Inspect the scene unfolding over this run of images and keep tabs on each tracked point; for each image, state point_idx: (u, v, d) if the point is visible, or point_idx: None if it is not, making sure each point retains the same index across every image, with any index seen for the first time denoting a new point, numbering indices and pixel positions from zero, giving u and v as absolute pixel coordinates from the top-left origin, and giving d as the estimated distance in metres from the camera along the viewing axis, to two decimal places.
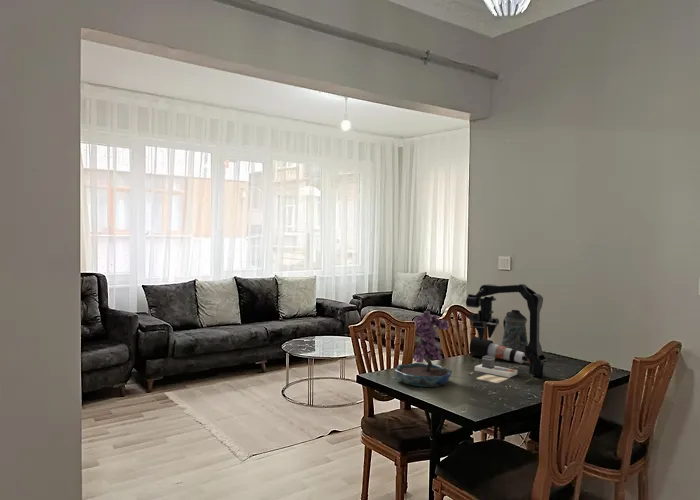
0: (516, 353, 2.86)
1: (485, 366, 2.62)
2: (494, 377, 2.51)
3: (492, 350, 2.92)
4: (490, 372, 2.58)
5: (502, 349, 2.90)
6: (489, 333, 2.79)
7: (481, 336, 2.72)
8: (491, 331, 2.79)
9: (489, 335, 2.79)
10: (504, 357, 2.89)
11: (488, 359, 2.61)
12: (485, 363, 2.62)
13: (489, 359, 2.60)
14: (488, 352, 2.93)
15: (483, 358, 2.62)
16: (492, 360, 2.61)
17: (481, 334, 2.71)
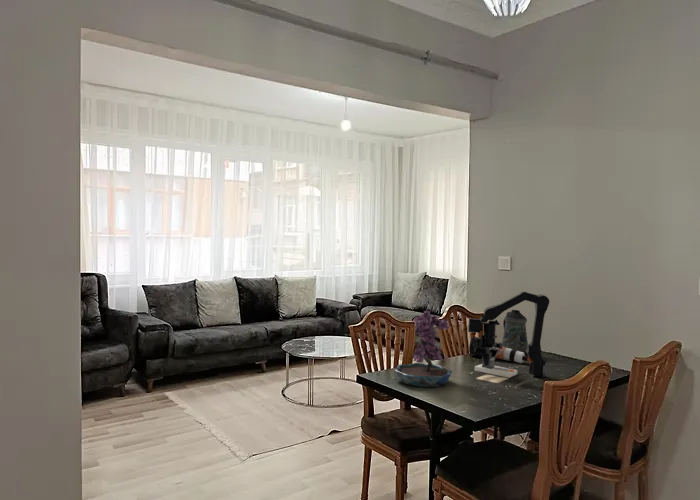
0: (516, 353, 2.86)
1: (485, 366, 2.62)
2: (494, 377, 2.51)
3: None
4: (490, 372, 2.58)
5: (502, 349, 2.89)
6: None
7: (486, 361, 2.60)
8: None
9: None
10: (504, 357, 2.88)
11: None
12: None
13: None
14: None
15: None
16: (492, 360, 2.61)
17: (486, 359, 2.60)
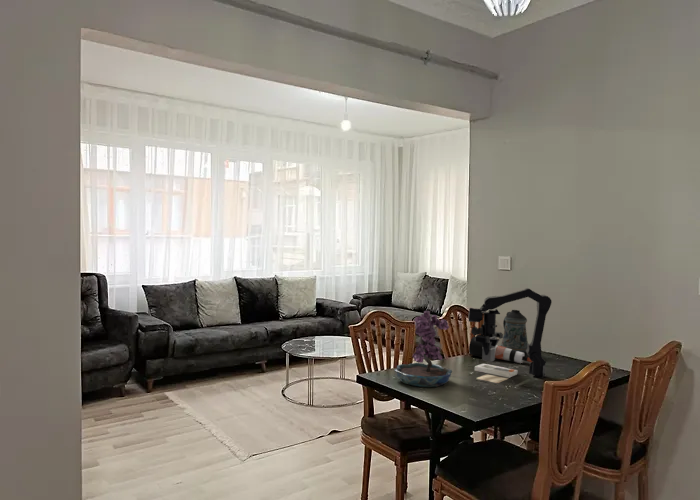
0: (516, 353, 2.85)
1: (485, 355, 2.62)
2: (494, 377, 2.51)
3: None
4: (490, 372, 2.58)
5: (502, 349, 2.89)
6: None
7: (486, 351, 2.60)
8: None
9: None
10: (504, 357, 2.88)
11: None
12: None
13: None
14: None
15: None
16: (492, 349, 2.61)
17: (486, 349, 2.60)
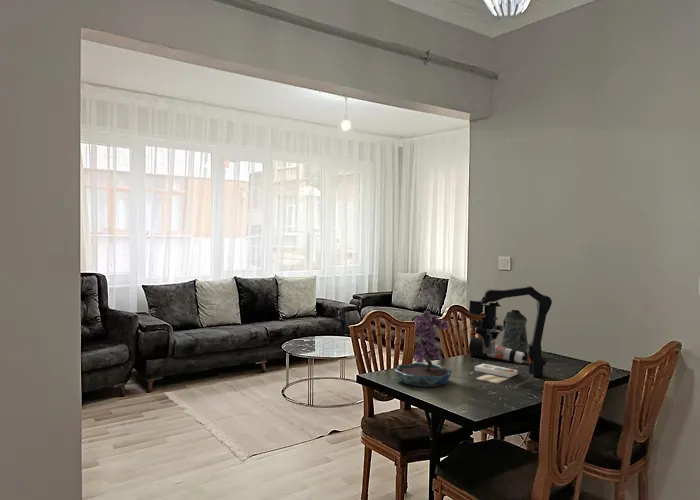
0: (516, 353, 2.85)
1: (486, 348, 2.61)
2: (494, 377, 2.51)
3: None
4: (490, 372, 2.58)
5: (502, 349, 2.89)
6: None
7: (487, 343, 2.60)
8: None
9: None
10: (504, 357, 2.88)
11: None
12: None
13: (490, 341, 2.60)
14: None
15: None
16: (493, 342, 2.61)
17: (487, 341, 2.59)
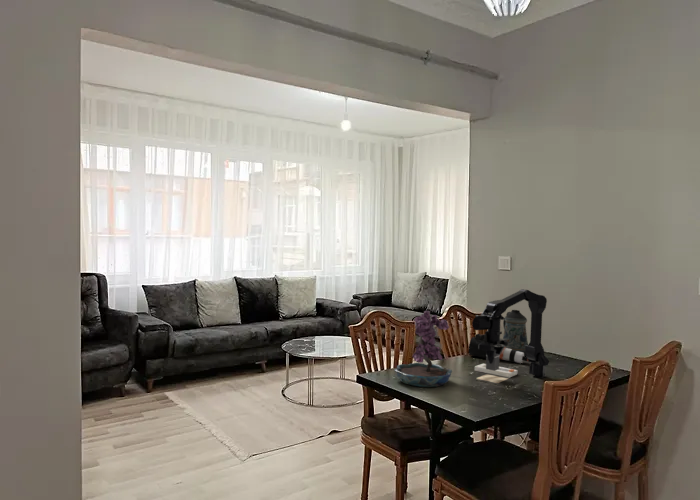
0: (516, 353, 2.85)
1: (489, 364, 2.47)
2: (494, 377, 2.51)
3: None
4: (490, 372, 2.58)
5: None
6: None
7: (491, 359, 2.46)
8: None
9: None
10: (504, 357, 2.88)
11: None
12: None
13: None
14: None
15: None
16: (497, 358, 2.47)
17: (491, 357, 2.46)
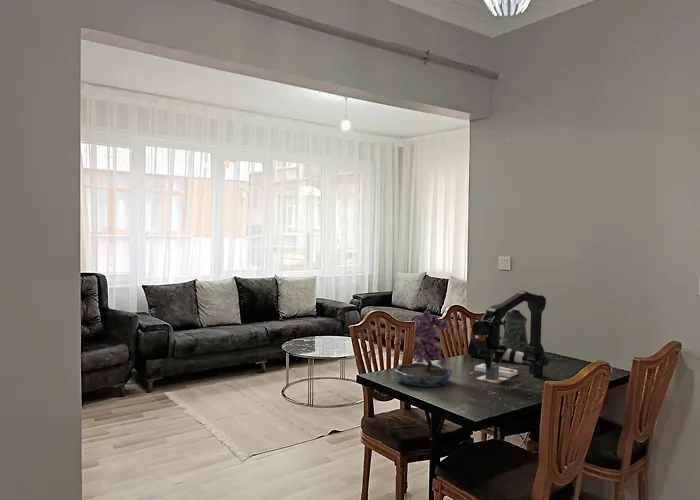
0: (516, 353, 2.85)
1: (489, 373, 2.47)
2: None
3: None
4: None
5: None
6: (496, 361, 2.52)
7: (488, 365, 2.44)
8: (499, 359, 2.52)
9: None
10: (504, 358, 2.88)
11: (492, 366, 2.46)
12: (489, 370, 2.47)
13: (493, 366, 2.46)
14: None
15: None
16: (496, 367, 2.47)
17: (488, 363, 2.44)
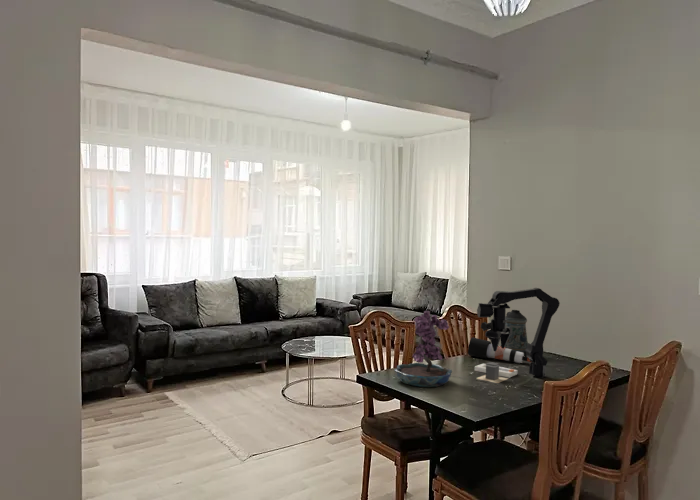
0: (516, 353, 2.85)
1: (489, 373, 2.47)
2: None
3: (491, 351, 2.90)
4: None
5: (502, 350, 2.88)
6: (502, 343, 2.62)
7: (495, 347, 2.54)
8: (504, 341, 2.61)
9: (502, 345, 2.62)
10: (504, 358, 2.88)
11: (492, 366, 2.46)
12: (489, 370, 2.47)
13: (493, 366, 2.46)
14: (487, 353, 2.91)
15: (487, 365, 2.48)
16: (496, 367, 2.47)
17: (495, 345, 2.53)
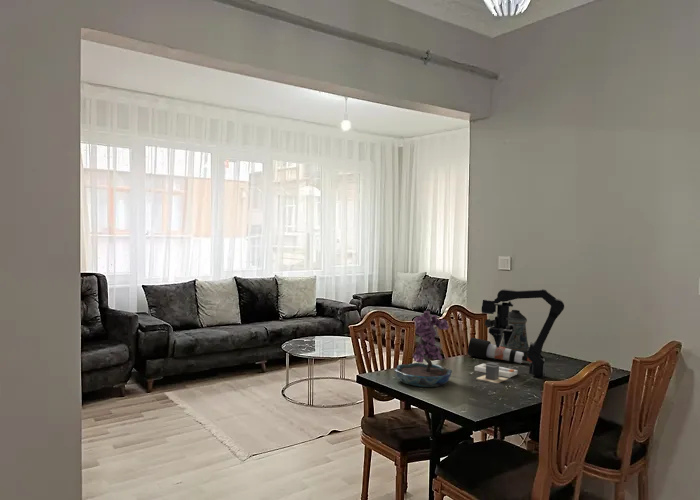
0: (516, 353, 2.85)
1: (489, 373, 2.47)
2: None
3: (491, 351, 2.90)
4: None
5: (501, 350, 2.88)
6: (505, 340, 2.68)
7: (498, 343, 2.60)
8: (508, 338, 2.68)
9: (505, 342, 2.68)
10: (504, 358, 2.87)
11: (492, 366, 2.46)
12: (489, 370, 2.47)
13: (493, 366, 2.46)
14: (487, 353, 2.91)
15: (487, 365, 2.48)
16: (496, 367, 2.47)
17: (498, 341, 2.60)
